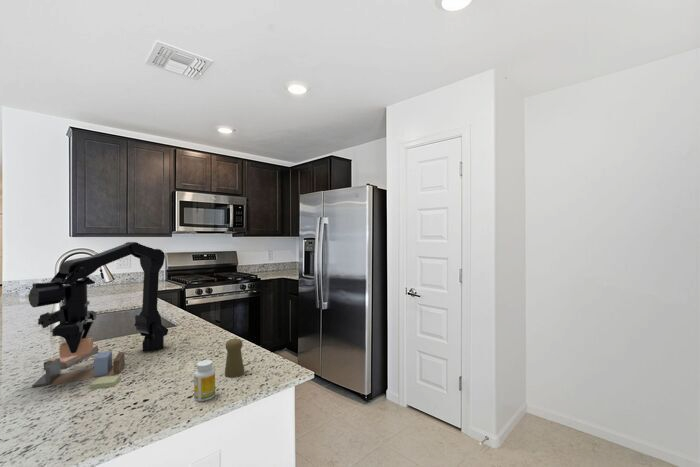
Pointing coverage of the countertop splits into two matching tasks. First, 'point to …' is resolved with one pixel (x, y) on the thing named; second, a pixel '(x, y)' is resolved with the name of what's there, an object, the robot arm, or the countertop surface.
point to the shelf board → (89, 372)
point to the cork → (234, 358)
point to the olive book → (105, 382)
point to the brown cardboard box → (83, 348)
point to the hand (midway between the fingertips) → (76, 349)
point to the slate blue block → (102, 363)
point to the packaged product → (71, 359)
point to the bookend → (49, 374)
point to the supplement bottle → (204, 381)
